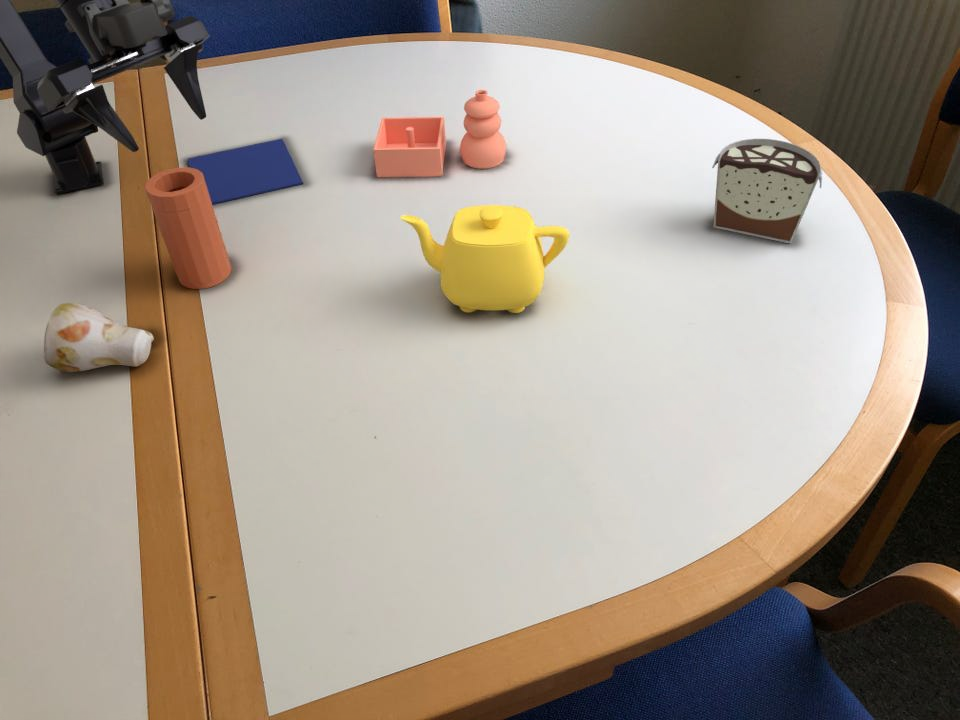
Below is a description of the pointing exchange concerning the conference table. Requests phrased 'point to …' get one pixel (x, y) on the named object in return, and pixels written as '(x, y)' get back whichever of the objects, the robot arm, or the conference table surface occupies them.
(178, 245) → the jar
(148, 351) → the fruit patterned vase
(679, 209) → the conference table surface
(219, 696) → the conference table surface
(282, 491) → the conference table surface
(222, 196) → the napkin
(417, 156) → the pottery
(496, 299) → the teapot
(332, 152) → the conference table surface
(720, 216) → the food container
